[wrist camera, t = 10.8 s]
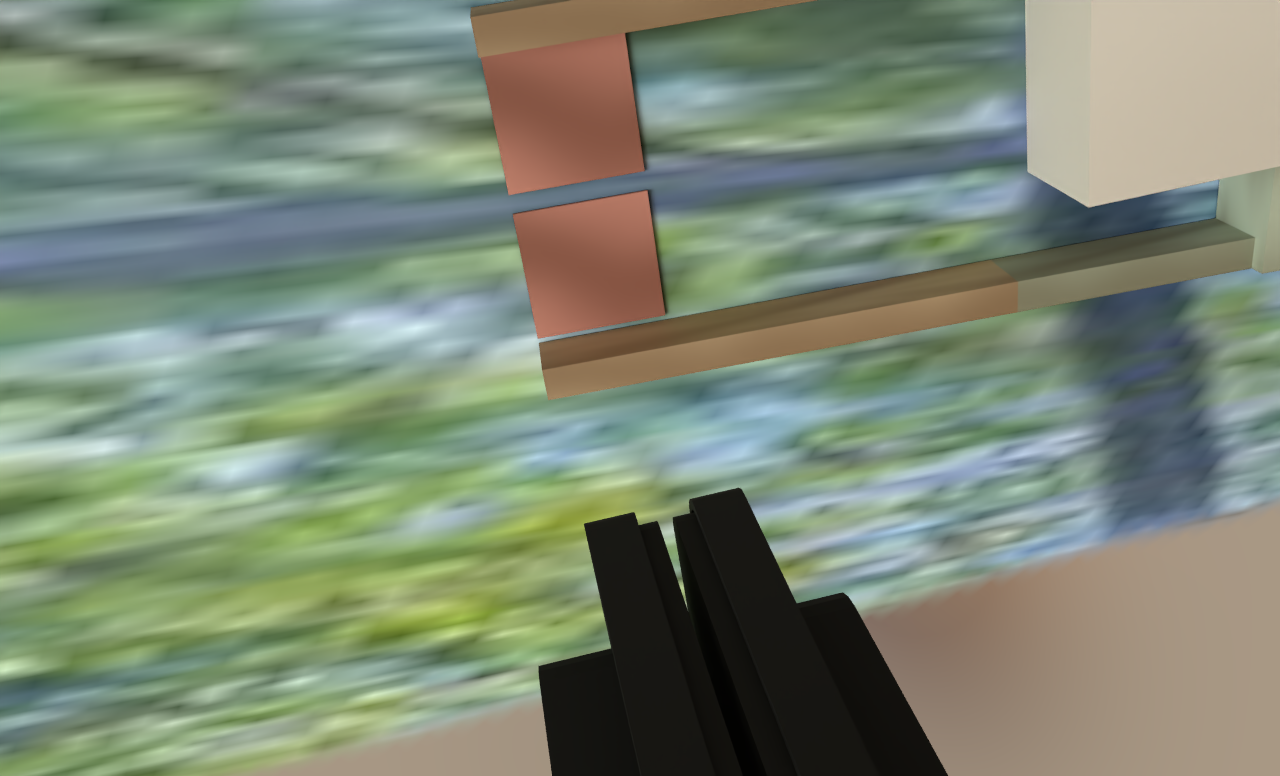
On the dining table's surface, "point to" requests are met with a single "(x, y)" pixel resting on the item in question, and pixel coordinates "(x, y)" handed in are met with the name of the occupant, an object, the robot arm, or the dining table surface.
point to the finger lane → (631, 290)
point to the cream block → (1150, 93)
